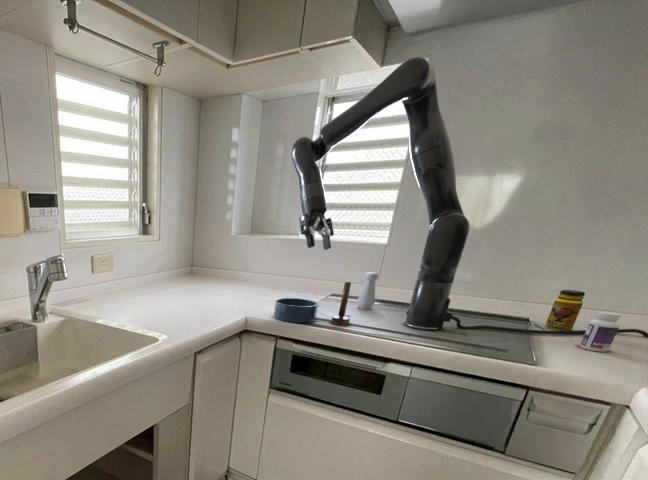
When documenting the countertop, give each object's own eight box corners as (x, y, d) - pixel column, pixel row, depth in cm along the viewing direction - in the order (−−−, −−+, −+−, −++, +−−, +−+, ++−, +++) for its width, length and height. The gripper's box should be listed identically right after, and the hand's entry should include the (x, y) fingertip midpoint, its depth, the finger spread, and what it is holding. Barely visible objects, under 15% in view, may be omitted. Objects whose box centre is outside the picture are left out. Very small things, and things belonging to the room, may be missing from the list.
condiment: (548, 331, 122) (564, 292, 118) (535, 324, 130) (550, 287, 125) (579, 334, 120) (596, 294, 115) (564, 327, 127) (580, 289, 123)
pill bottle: (613, 351, 105) (630, 314, 102) (599, 353, 104) (616, 316, 100) (587, 345, 110) (602, 310, 106) (574, 346, 109) (589, 311, 105)
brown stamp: (348, 322, 130) (356, 280, 125) (349, 326, 126) (358, 283, 121) (330, 320, 132) (338, 279, 127) (331, 324, 127) (339, 281, 122)
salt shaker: (375, 310, 147) (383, 274, 142) (358, 309, 148) (366, 273, 143) (370, 306, 152) (378, 271, 147) (354, 305, 153) (361, 271, 148)
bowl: (315, 315, 138) (317, 300, 136) (315, 325, 126) (318, 308, 124) (275, 312, 142) (277, 296, 140) (272, 321, 131) (274, 304, 128)
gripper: (309, 191, 126) (316, 242, 126) (336, 197, 133) (342, 245, 133) (289, 202, 132) (296, 250, 132) (316, 207, 140) (322, 253, 140)
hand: (319, 248), depth 133 cm, fingers open, 8 cm apart
